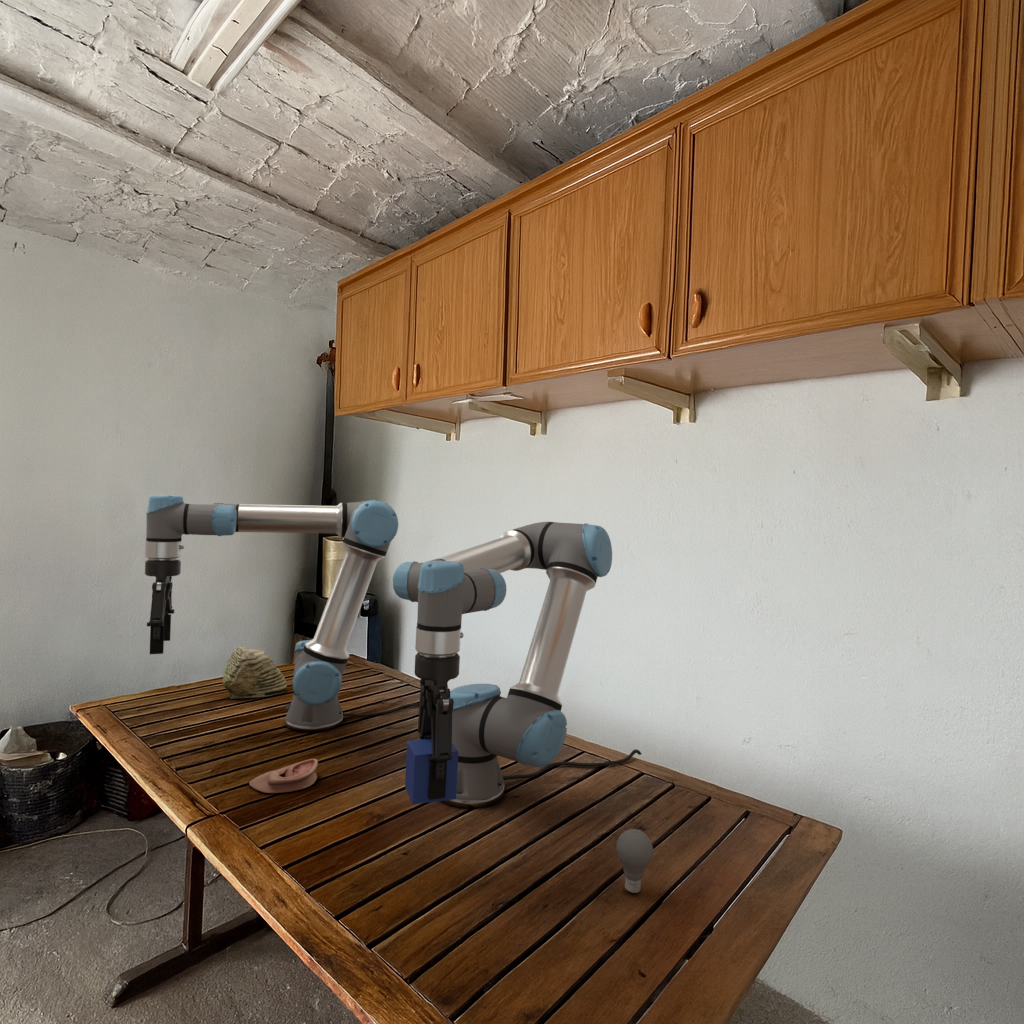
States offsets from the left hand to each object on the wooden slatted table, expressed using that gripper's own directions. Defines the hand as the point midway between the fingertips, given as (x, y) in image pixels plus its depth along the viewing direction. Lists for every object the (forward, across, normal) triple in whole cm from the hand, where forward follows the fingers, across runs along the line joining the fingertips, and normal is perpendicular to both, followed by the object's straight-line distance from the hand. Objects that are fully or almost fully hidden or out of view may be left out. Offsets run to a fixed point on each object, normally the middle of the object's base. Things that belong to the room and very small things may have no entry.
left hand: (160, 647), depth 152 cm
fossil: (+25, +40, -22) cm, 52 cm away
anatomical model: (+25, -26, -28) cm, 46 cm away
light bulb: (+25, -84, -80) cm, 119 cm away
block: (+11, -69, -49) cm, 85 cm away
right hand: (+10, -69, -49) cm, 85 cm away
